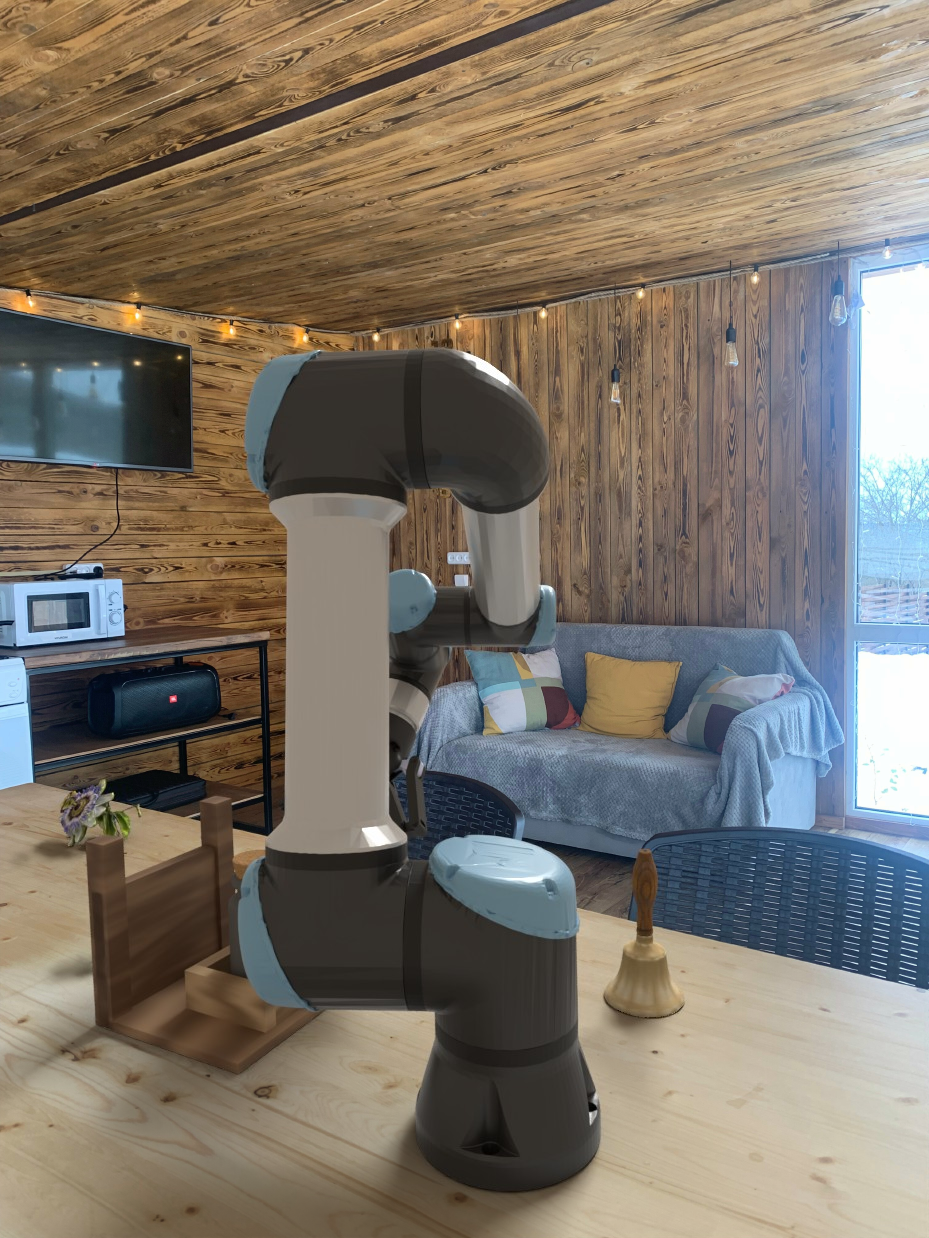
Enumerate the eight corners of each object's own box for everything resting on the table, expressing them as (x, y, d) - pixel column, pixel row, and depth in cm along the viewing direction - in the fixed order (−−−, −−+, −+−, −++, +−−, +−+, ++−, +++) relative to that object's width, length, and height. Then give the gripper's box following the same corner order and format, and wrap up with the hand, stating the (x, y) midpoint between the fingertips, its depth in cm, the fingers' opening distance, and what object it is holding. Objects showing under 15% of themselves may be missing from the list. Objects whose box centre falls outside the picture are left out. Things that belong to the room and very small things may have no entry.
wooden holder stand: (353, 988, 99) (348, 816, 98) (238, 1074, 84) (230, 871, 82) (222, 953, 109) (215, 795, 107) (95, 1024, 93) (85, 841, 91)
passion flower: (75, 878, 149) (38, 816, 151) (132, 847, 157) (97, 788, 159) (99, 853, 142) (60, 788, 144) (158, 822, 150) (120, 761, 152)
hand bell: (701, 1000, 96) (701, 851, 94) (647, 1027, 90) (647, 870, 89) (640, 971, 102) (640, 831, 101) (587, 995, 97) (586, 848, 96)
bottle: (300, 991, 97) (296, 853, 95) (260, 1015, 92) (255, 870, 91) (260, 977, 100) (255, 843, 99) (219, 1000, 95) (214, 860, 94)
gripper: (488, 747, 113) (430, 911, 101) (324, 731, 125) (255, 876, 113) (466, 713, 108) (402, 882, 96) (297, 700, 120) (223, 848, 108)
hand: (323, 879), depth 105 cm, fingers open, 13 cm apart
